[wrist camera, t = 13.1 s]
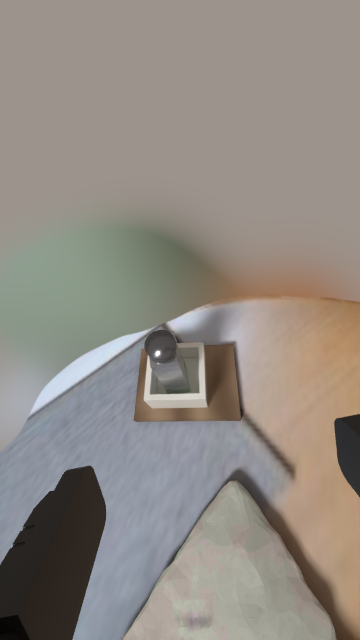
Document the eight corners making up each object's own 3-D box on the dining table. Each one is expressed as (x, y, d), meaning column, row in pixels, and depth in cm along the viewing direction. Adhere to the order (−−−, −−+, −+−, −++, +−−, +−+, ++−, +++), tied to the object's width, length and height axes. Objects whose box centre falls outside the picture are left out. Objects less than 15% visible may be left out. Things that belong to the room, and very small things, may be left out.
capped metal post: (186, 366, 41) (173, 325, 29) (191, 391, 38) (177, 357, 27) (165, 370, 41) (143, 331, 30) (168, 395, 38) (145, 363, 27)
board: (232, 347, 43) (232, 344, 42) (240, 420, 37) (240, 419, 36) (143, 351, 45) (141, 348, 44) (136, 421, 39) (133, 420, 38)
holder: (205, 354, 42) (203, 341, 38) (207, 407, 37) (205, 399, 33) (155, 356, 43) (148, 344, 39) (151, 408, 39) (143, 400, 35)
